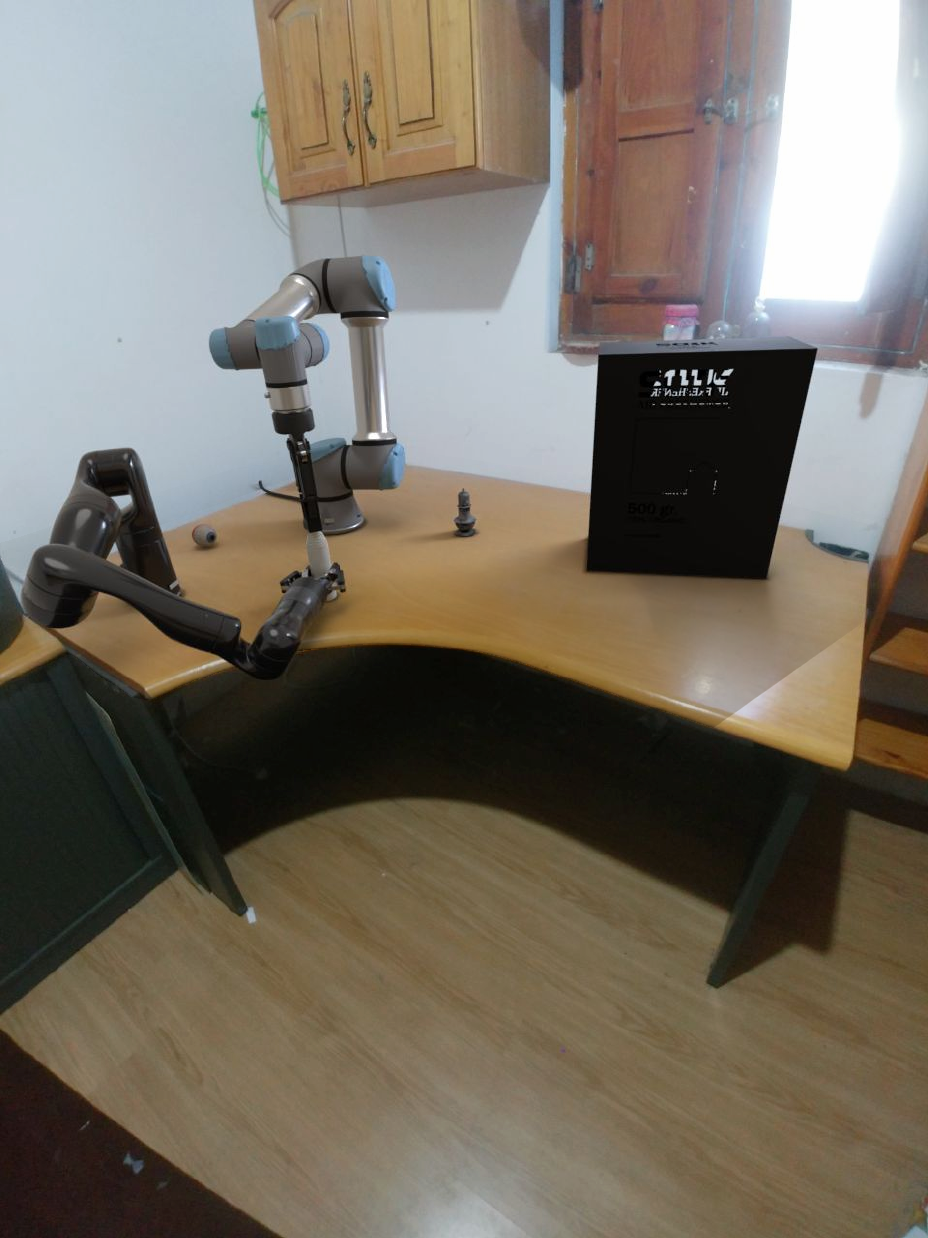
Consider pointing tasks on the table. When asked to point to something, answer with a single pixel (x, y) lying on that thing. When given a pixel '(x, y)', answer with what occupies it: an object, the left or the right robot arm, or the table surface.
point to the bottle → (319, 556)
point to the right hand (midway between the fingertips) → (313, 527)
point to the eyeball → (204, 535)
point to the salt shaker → (464, 515)
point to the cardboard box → (694, 454)
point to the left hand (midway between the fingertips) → (325, 566)
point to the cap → (306, 522)
